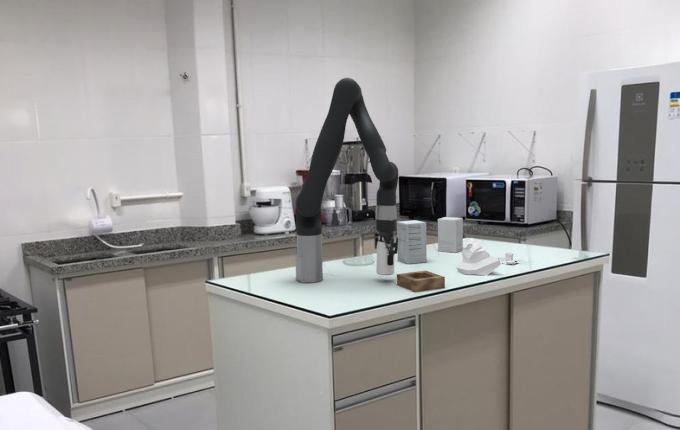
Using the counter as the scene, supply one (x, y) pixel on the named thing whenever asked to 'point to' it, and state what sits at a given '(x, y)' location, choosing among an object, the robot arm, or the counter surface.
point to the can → (383, 260)
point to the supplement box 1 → (411, 241)
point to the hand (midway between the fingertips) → (385, 263)
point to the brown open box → (420, 281)
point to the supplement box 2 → (450, 234)
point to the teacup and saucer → (509, 258)
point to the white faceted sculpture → (477, 260)
